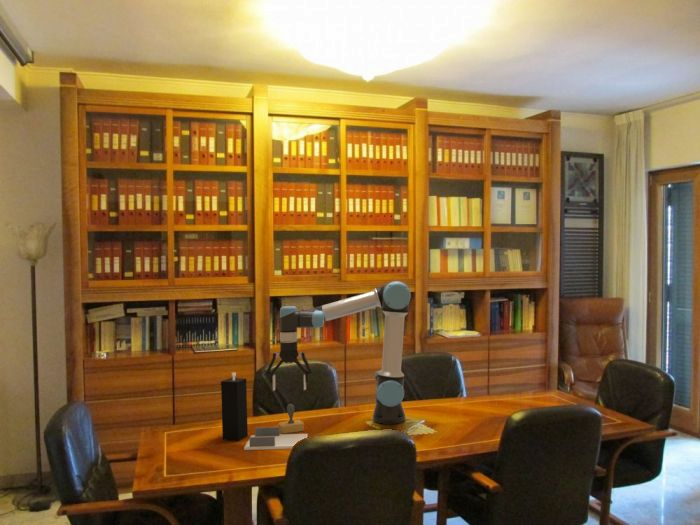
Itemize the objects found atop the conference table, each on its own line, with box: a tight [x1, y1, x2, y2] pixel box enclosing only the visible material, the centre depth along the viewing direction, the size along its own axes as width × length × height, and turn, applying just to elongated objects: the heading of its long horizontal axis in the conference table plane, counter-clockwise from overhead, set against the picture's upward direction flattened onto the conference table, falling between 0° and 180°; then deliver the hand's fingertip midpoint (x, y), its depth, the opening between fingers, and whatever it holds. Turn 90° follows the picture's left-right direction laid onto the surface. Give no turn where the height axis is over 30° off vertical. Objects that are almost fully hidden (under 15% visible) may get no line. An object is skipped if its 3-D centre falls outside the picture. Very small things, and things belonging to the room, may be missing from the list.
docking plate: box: [243, 426, 309, 451], centre depth 225 cm, size 24×16×4 cm, turn 90°
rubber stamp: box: [278, 403, 305, 434], centre depth 241 cm, size 10×6×12 cm, turn 115°
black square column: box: [220, 371, 249, 442], centre depth 233 cm, size 8×8×28 cm
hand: (289, 389), depth 241 cm, fingers open, 13 cm apart
